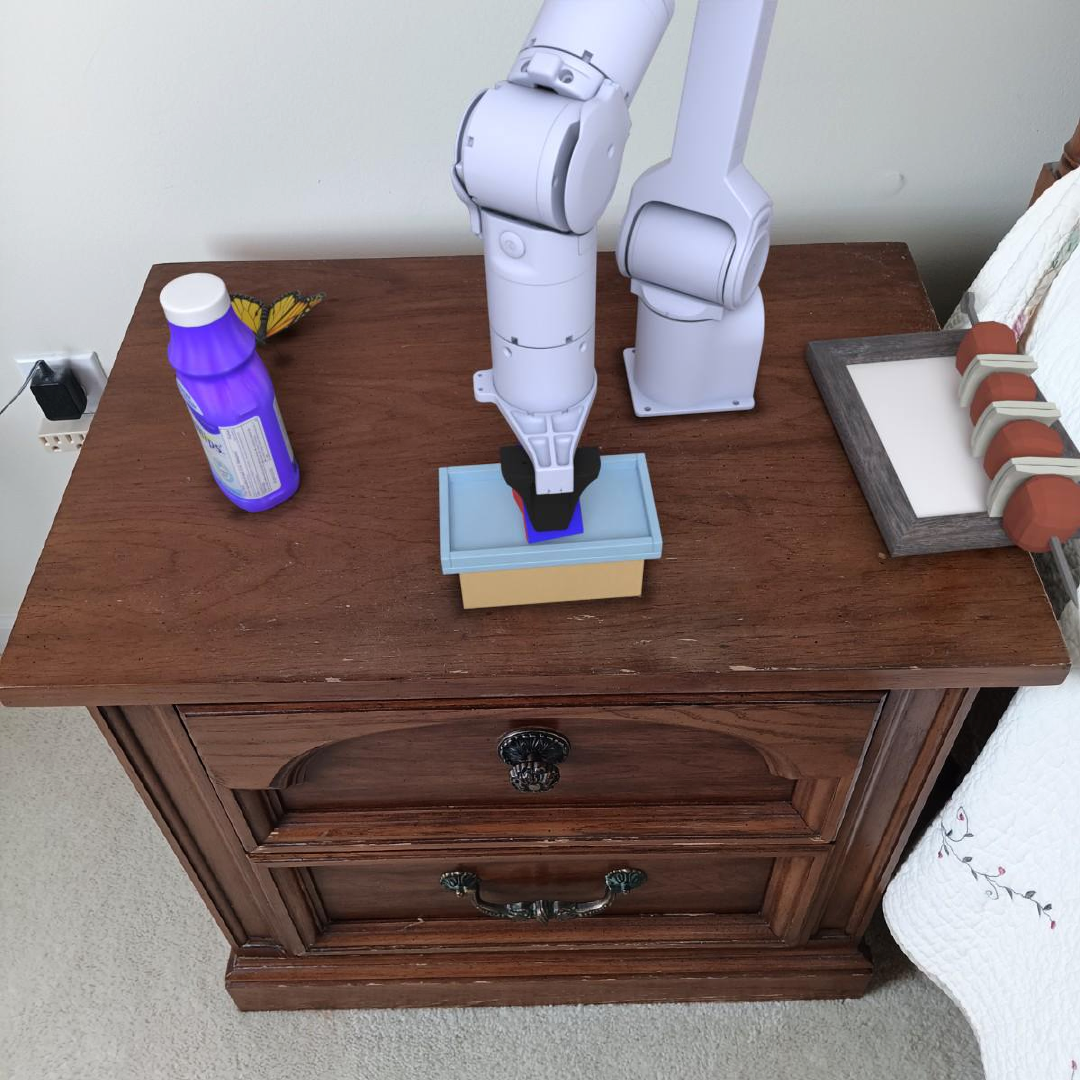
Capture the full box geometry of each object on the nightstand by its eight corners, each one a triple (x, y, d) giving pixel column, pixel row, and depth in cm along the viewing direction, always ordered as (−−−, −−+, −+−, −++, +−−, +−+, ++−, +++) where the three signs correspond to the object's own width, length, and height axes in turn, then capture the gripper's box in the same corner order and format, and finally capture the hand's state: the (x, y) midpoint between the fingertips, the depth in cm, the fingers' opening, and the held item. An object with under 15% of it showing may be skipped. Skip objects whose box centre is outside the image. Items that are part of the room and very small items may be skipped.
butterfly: (188, 386, 83) (169, 337, 79) (204, 319, 88) (187, 271, 84) (333, 377, 83) (321, 329, 79) (339, 311, 89) (329, 263, 85)
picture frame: (999, 325, 82) (1123, 520, 69) (990, 345, 84) (1110, 539, 70) (808, 341, 81) (897, 543, 68) (803, 360, 82) (889, 561, 69)
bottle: (203, 473, 76) (125, 281, 63) (270, 440, 78) (208, 247, 65) (247, 530, 73) (174, 339, 59) (316, 493, 75) (260, 301, 61)
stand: (639, 510, 73) (644, 452, 68) (656, 599, 68) (663, 542, 63) (447, 525, 72) (438, 467, 68) (449, 615, 67) (440, 559, 63)
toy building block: (568, 510, 67) (553, 395, 64) (584, 533, 63) (568, 411, 60) (516, 521, 67) (499, 405, 63) (529, 544, 63) (510, 422, 60)
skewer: (983, 321, 82) (1097, 633, 63) (925, 319, 82) (1023, 630, 63) (1007, 269, 78) (1137, 585, 59) (947, 267, 78) (1058, 583, 59)
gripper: (463, 241, 58) (479, 414, 69) (472, 412, 49) (489, 581, 59) (584, 234, 59) (581, 406, 69) (615, 402, 49) (607, 572, 60)
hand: (546, 487), depth 64 cm, fingers closed on toy building block, 6 cm apart
